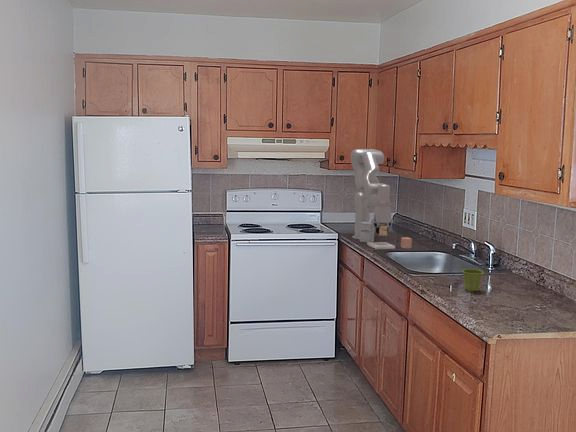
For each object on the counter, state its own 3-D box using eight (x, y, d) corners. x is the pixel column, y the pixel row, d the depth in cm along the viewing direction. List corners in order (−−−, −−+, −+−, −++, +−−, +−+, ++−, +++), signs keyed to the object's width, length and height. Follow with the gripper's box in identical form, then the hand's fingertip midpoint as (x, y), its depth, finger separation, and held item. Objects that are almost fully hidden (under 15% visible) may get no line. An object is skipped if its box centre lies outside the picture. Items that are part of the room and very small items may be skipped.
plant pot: (479, 293, 272) (480, 274, 271) (458, 290, 277) (459, 271, 276) (484, 289, 280) (486, 270, 278) (464, 286, 285) (465, 268, 283)
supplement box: (359, 242, 397) (360, 222, 396) (363, 240, 404) (364, 221, 402) (370, 243, 394) (371, 223, 392) (374, 241, 400) (375, 222, 399)
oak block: (376, 234, 383) (376, 224, 382) (384, 234, 384) (384, 224, 383) (379, 235, 378) (379, 225, 377) (387, 235, 379) (387, 225, 378)
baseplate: (367, 244, 387) (367, 242, 387) (386, 244, 390) (386, 242, 390) (375, 248, 374) (375, 246, 374) (395, 248, 377) (395, 246, 377)
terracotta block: (400, 247, 384) (401, 237, 383) (408, 246, 385) (408, 237, 384) (403, 248, 379) (404, 238, 378) (411, 248, 380) (411, 238, 379)
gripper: (393, 203, 384) (392, 232, 386) (367, 203, 380) (366, 232, 382) (398, 205, 377) (397, 234, 379) (372, 205, 373) (371, 234, 375)
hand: (381, 233), depth 381 cm, fingers closed on oak block, 5 cm apart
